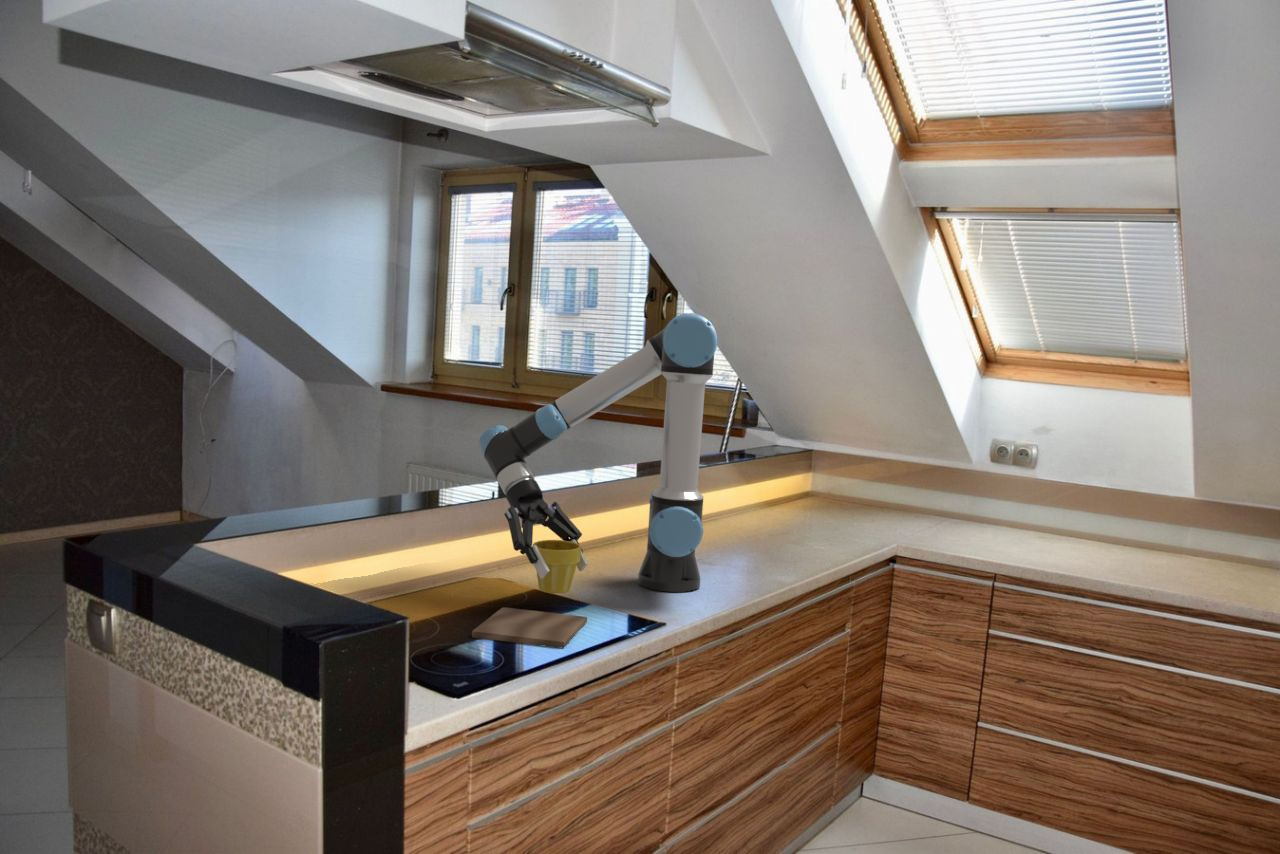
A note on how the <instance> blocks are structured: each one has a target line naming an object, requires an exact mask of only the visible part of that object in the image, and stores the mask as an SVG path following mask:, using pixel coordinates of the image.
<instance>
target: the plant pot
mask: <svg viewBox="0 0 1280 854" xmlns="http://www.w3.org/2000/svg"><path fill="white" fill-rule="evenodd" d="M578 543H579V542H578ZM578 543H575V542H570V541H564V540H562V539H544V540H543V539H542V540H538V541H535V542H533V543H532V547H533V545H536V546H537V547H538V549H539V551H540V553H541V555H542V557H543V559H544V561H545V563H546V564H547V566H548V568H549V570H550V571H549V572H548V574H547V575H546V576H545V577H544V578H540V576H539V574H538V573H537V571H536V570H535V571H536V577H537V584H538V589H539V591H541V592H543V593H548V594H565V593H567V592H570V590H571V588H572V583H573V579H574V576H575V572H576V569H577V563H579V562H580V557H581V548H582V546H581V544H580V543H579V544H580V545H579V544H578Z"/></svg>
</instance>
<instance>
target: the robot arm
mask: <svg viewBox="0 0 1280 854" xmlns="http://www.w3.org/2000/svg"><path fill="white" fill-rule="evenodd" d="M717 347H718V334H717V331H716V329H715V327H714V324H712V323H711V321H710V320H709V319H707V318H706V317H704V316H703V315H700V314H698V313H694V312H693V313H692V312H690V313H689V312H688V313H687V312H686V313H681V314H679V315H676V316H674V317H673V318H671V320H669V322H668V323H667V325H666V326H665V327H664V328H663V329H661V331H659V332H658V333H657V334H655V335H653V336H652V337H650V338H648V339H647V340H646V344H645V346H644V347H641V348H640V349H639V350H636V351H635V352H634V353H632V354H630V355H628V356H627V357H626V358H624V359H622V360H621V361H618V362H617V363H615V364H614V365H612V366H610V367H609V368H607V369H606V370H604V371H602V372H600V373H598V374H597V375H595V376H593V377H592V378H590V379H589V380H586V381H585V382H584V383H582V384H580V385H579V386H577V387H575V388H574V389H572V390H570V391H569V392H567V393H566V394H563V395H562V396H559V398H557V399H555V400H554V401H552V402H550V403H549V404H546V405H544V406H542V407H540V408H538V409H537V410H536V411H534V412H533V413H531V414H530V415H529V416H526V417H525V418H524V419H522V420H521V421H519V422H518V423H517V424H515V425H513V426H512V427H510V428H507V426H504V425H503V424H502V425H495V426H493V427H489V428H487V429H486V430H484V431H483V432H482V434H481V435H480V436H479V440H478V445H479V448H480V450H481V452H482V454H483V458H484V459H485V460H486V463H487V464H488V466H489V467H490V469H491V471H492V473H493V475H494V477H495V479H496V481H497V483H498V484H499V486H500V488H501V490H502V493H503V494H504V495H505V498H506V500H507V502H508V505H509V507H508V509H507V510H506V511H505V512H504V517H505V518H506V520H507V522H508V527H509V532H510V537H511V542H512V545H513V546H512V547H513V550H514V551H516V552H518V551H519V553H520V554H521V555H526V558H527V559H528V561H529V563H530V564H532V565H533V567H534V569H535V571H537V572H536V574H537V573H538V574H539V576H540V578H544V577H545V576H546V575H547V574H548V572H549V571H550V570H549V568H548V566H547V564H546V563H545V561H544V559H543V557H542V555H541V553H540V551H539V549H538V547H537V546H536V545H533V533H534V531H533V530H534V525H542V526H543V527H544V528H548V529H549V530H550V531H551V532H553V534H555V535H556V536H558V537H559V538H560V540H563V541H570V542H575V543H578V544H579V545H581V544H580V543H579V539H580V538H581V537H582V536H583V533H582V532H581V531H580V530H579V529H578V527H577V526H576V524H574V522H573V521H572V520H571V519H570V518H569V517H568V515H567V514H566V513H565V512H564V511H563V510H562V509H561V506H560V504H559V503H558V502H557V501H554V502H553V503H551V504H548V502H546V501H545V500H544V498H543V491H542V489H541V487H540V486H539V483H538V481H536V480H535V476H534V474H533V472H532V470H531V469H530V467H529V465H528V464H527V462H526V458H528V457H531V455H532V454H534V453H535V452H537V451H538V450H540V449H542V448H543V447H545V446H547V445H548V444H549V443H551V442H553V441H554V440H557V439H558V438H560V437H561V435H563V434H564V433H566V432H567V431H568V430H570V429H571V428H573V427H574V426H576V425H578V424H579V423H581V422H583V421H584V420H586V419H588V418H590V417H591V416H594V415H595V414H596V413H598V412H600V411H601V410H603V409H605V408H606V407H608V406H610V405H611V404H613V403H615V402H617V401H618V400H620V399H623V397H625V396H627V395H628V394H631V393H632V392H634V391H635V390H637V389H639V388H640V387H642V386H644V385H645V384H647V383H649V382H650V381H652V380H654V379H656V378H657V377H659V376H661V375H662V376H663V377H664V378H665V380H666V390H665V391H666V392H665V404H664V405H665V406H664V416H663V417H664V418H663V431H662V434H663V435H662V446H661V447H662V448H661V459H660V460H661V461H660V477H659V486H658V487H657V488H656V489H655V490H654V489H653V490H652V491H651V492H650V493H651V494H650V499H649V500H648V503H649V513H648V515H649V516H648V527H647V529H648V530H647V542H646V543H647V544H646V545H647V546H646V553H645V556H644V558H643V560H642V564H641V565H640V569H639V571H638V574H637V584H638V585H640V586H641V587H643V588H646V589H649V590H655V591H660V592H667V593H668V592H669V593H671V592H672V593H683V592H685V593H686V591H687V592H692V591H691V590H693V591H696V590H695V589H697V590H699V589H700V588H701V574H700V571H699V566H698V562H697V558H696V549H697V548H698V547H699V545H700V544H701V542H702V539H703V536H704V527H703V510H704V506H703V505H704V495H703V494H702V493H701V492H700V490H699V489H698V486H699V485H698V484H699V473H700V471H699V470H700V457H701V446H702V444H701V443H702V433H703V432H702V431H703V417H704V405H705V404H704V403H705V393H706V383H707V382H708V381H709V380H710V379H711V378H712V377H713V376H714V375H713V374H714V363H715V353H716V351H717ZM547 518H548V519H547ZM520 519H521V521H520ZM532 546H533V547H532ZM588 565H589V562H588V560H587V558H586V557H585V555H584V551H583V548H582V547H581V557H580V562H579V563H577V566H576V569H578V571H579V572H583V571H584V570H585V569H586V567H588ZM699 587H700V588H699Z"/></svg>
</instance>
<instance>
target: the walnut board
mask: <svg viewBox="0 0 1280 854" xmlns="http://www.w3.org/2000/svg"><path fill="white" fill-rule="evenodd" d="M586 622H587V623H588V616H582V615H574V614H566V613H559V612H557V613H556V612H549V611H539V610H532V609H531V610H529V609H522V608H521V609H520V608H514V607H513V608H512V607H505V606H504V607H501V608H500V609H499V610H497V611H496V612H495V613H493V614H492V615H491V616H490V617H488V618H487V619H486V620H484V621H483V622H482V623H480V624H479V625H478V626H477V627H476V628H474V629H473V630H472V631H471V638H475V639H483V640H491V641H499V642H507V643H508V642H509V643H514V644H525V645H532V646H533V645H534V646H540V645H545V646H544V647H548V646H553V647H552V648H557V647H562V648H561V649H565V648H566V647H567V646H568V645H569V643H570V642H571V641H572V640H573V639H574V638H575V637H576V635H577V634H578V633H579V632H580V631H581V630H582V629H583V628H584V627H585V625H586V624H587V623H586ZM585 623H586V624H585ZM581 628H582V629H581ZM580 629H581V630H580ZM579 630H580V631H579ZM578 631H579V632H578ZM577 632H578V633H577ZM576 633H577V634H576ZM575 634H576V635H575ZM574 636H575V637H574ZM573 637H574V638H573ZM572 638H573V639H572ZM571 639H572V640H571ZM570 640H571V641H570ZM569 641H570V642H569ZM567 644H568V645H567ZM566 645H567V646H566ZM565 646H566V647H565ZM564 647H565V648H564Z"/></svg>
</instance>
